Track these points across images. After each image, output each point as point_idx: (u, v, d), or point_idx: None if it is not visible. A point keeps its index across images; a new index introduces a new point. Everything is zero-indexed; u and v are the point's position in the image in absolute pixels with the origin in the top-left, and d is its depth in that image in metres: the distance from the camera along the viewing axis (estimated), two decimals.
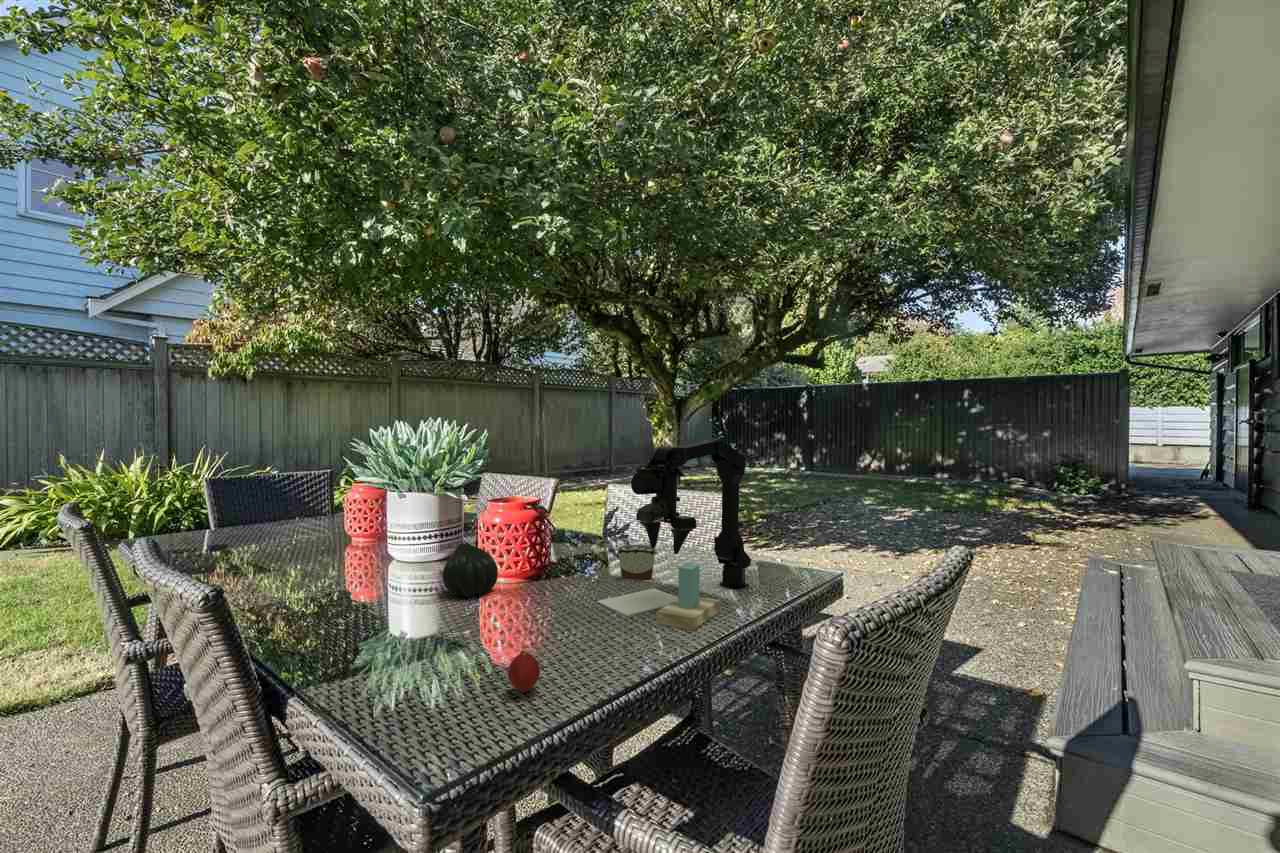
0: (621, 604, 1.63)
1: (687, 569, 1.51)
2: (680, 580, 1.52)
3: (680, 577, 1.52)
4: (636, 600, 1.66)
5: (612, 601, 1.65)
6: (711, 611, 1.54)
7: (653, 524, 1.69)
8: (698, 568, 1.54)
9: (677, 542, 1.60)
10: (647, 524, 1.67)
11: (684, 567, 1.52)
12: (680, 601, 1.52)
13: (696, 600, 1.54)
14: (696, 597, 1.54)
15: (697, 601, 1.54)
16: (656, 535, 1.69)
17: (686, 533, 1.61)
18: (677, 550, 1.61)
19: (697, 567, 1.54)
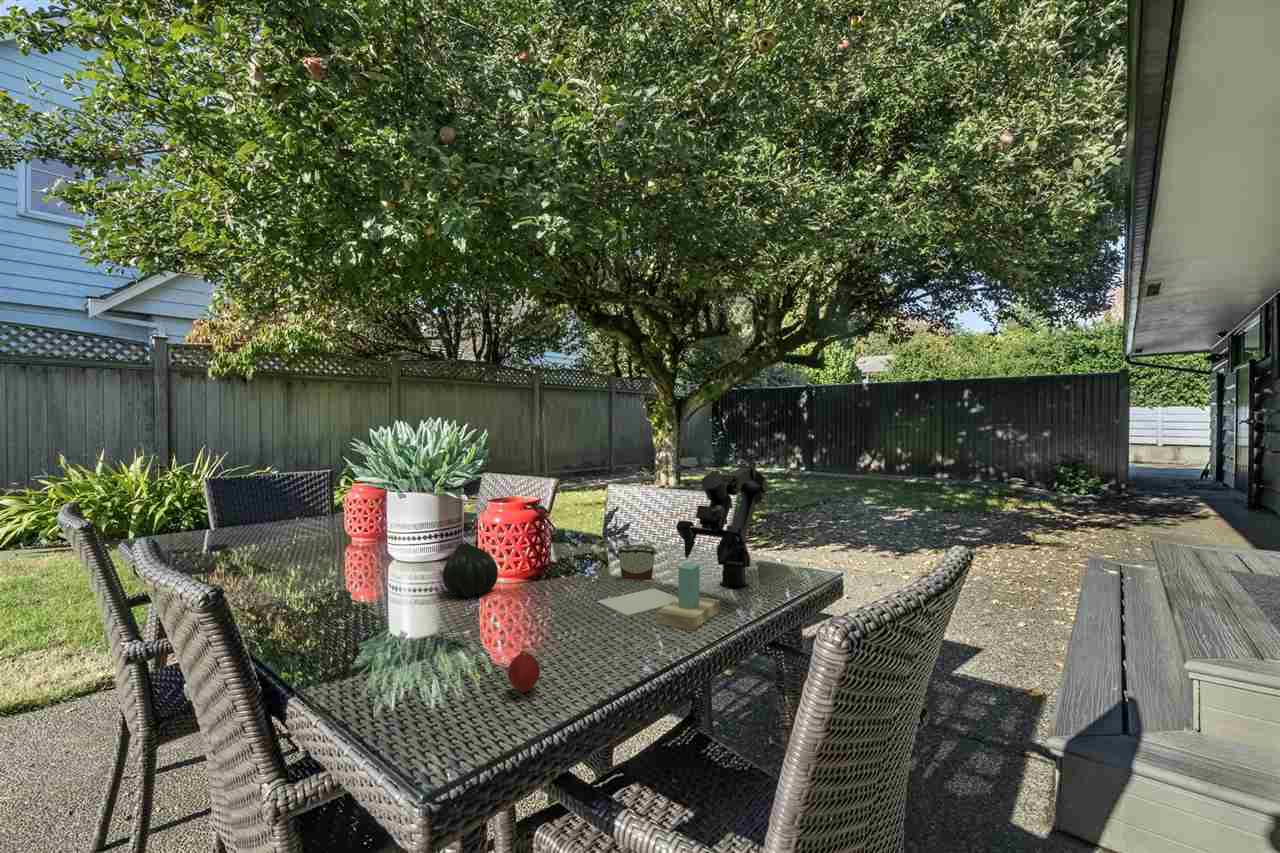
0: (621, 604, 1.63)
1: (687, 569, 1.51)
2: (680, 580, 1.52)
3: (680, 577, 1.52)
4: (636, 600, 1.66)
5: (612, 601, 1.65)
6: (711, 611, 1.54)
7: (691, 537, 1.67)
8: (698, 568, 1.54)
9: (725, 549, 1.59)
10: (689, 532, 1.66)
11: (684, 567, 1.52)
12: (680, 601, 1.52)
13: (696, 600, 1.54)
14: (696, 597, 1.54)
15: (697, 601, 1.54)
16: (690, 548, 1.66)
17: (732, 548, 1.62)
18: (721, 558, 1.59)
19: (697, 567, 1.54)
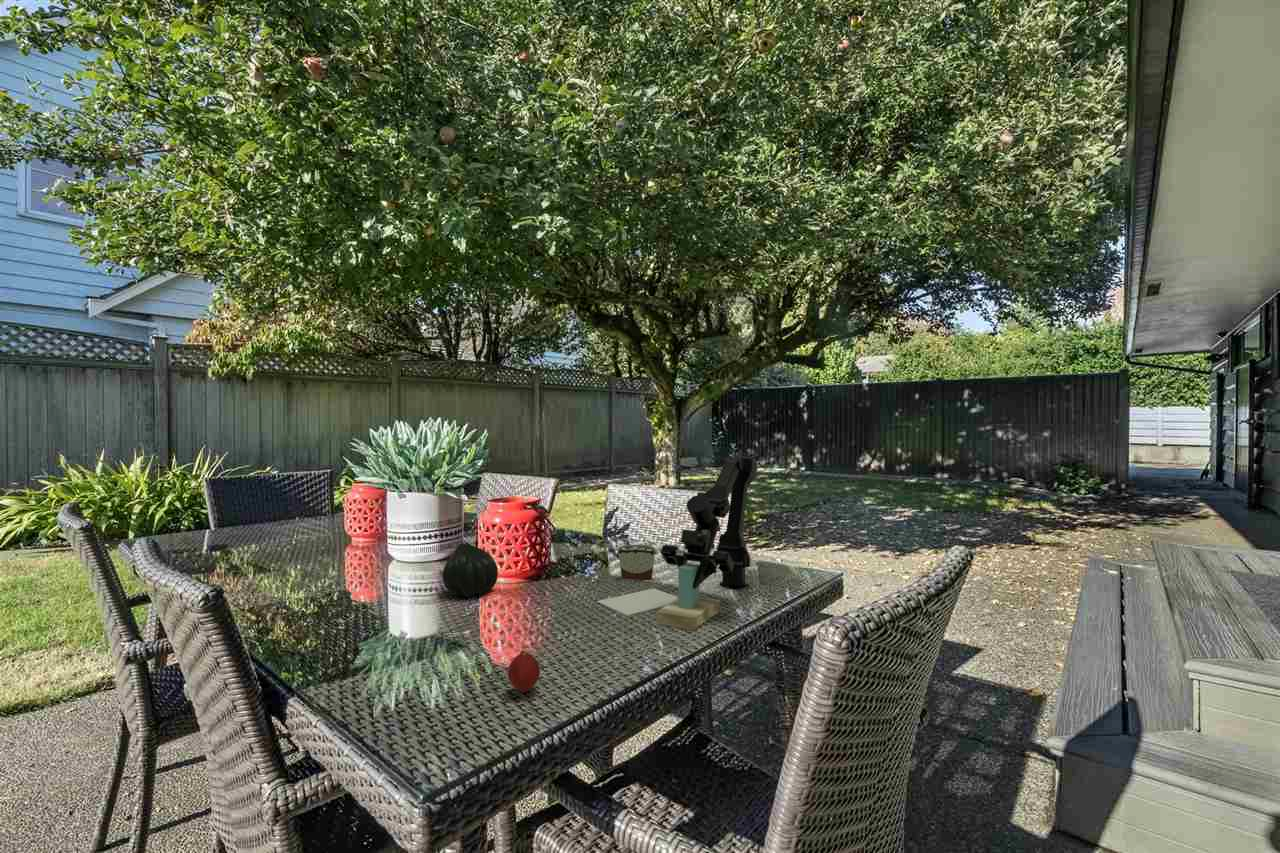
0: (621, 604, 1.63)
1: (687, 569, 1.51)
2: (680, 580, 1.52)
3: (680, 577, 1.52)
4: (636, 600, 1.66)
5: (612, 601, 1.65)
6: (711, 611, 1.54)
7: None
8: (698, 568, 1.54)
9: (701, 575, 1.53)
10: (683, 559, 1.56)
11: (684, 567, 1.52)
12: (680, 601, 1.52)
13: (696, 600, 1.54)
14: (696, 597, 1.54)
15: (697, 601, 1.54)
16: None
17: (708, 573, 1.55)
18: (696, 584, 1.52)
19: (697, 567, 1.54)
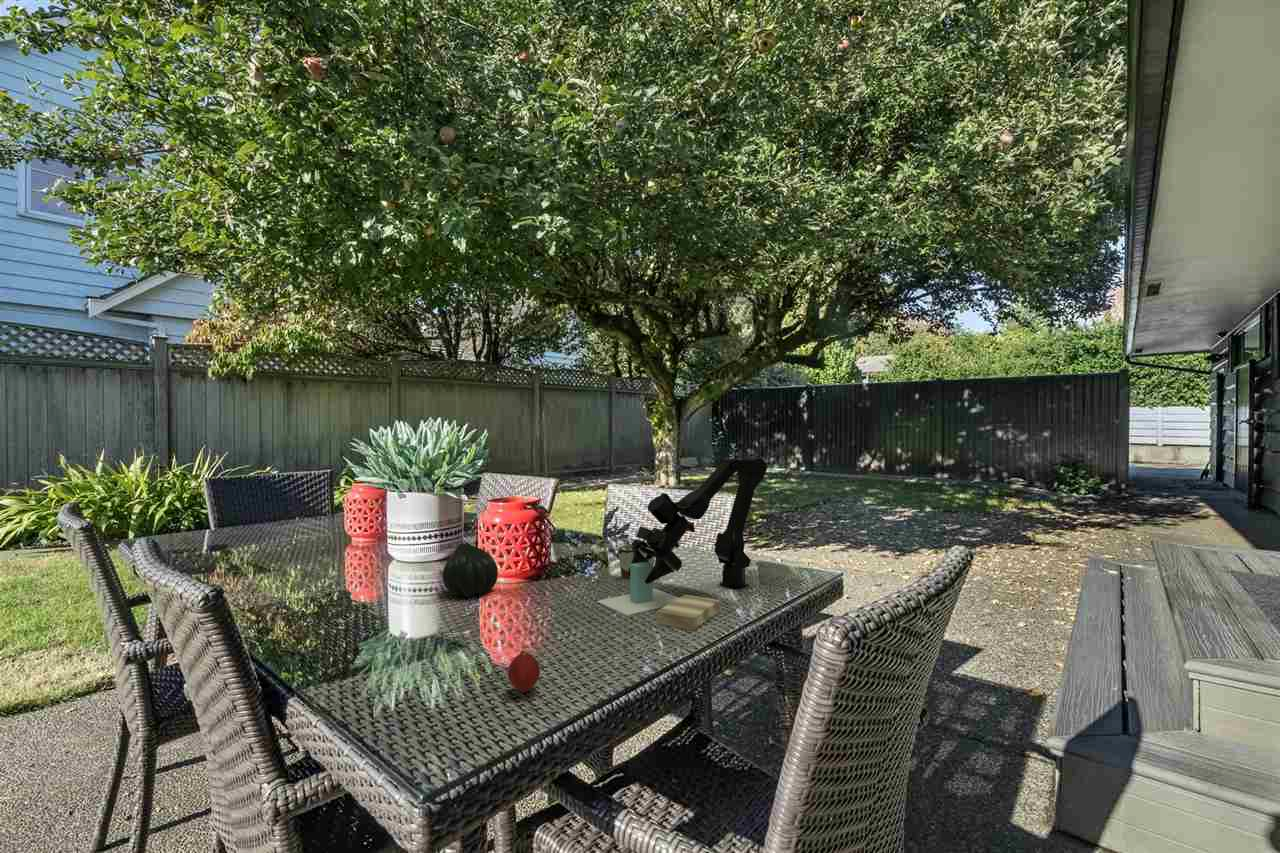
0: (621, 604, 1.63)
1: (635, 566, 1.64)
2: (631, 576, 1.66)
3: (631, 573, 1.66)
4: None
5: (612, 601, 1.65)
6: (711, 611, 1.54)
7: (641, 556, 1.72)
8: (650, 567, 1.65)
9: (654, 572, 1.61)
10: (637, 551, 1.71)
11: (635, 564, 1.66)
12: (631, 595, 1.66)
13: (646, 596, 1.65)
14: (647, 593, 1.65)
15: (648, 598, 1.65)
16: None
17: (666, 572, 1.62)
18: (649, 580, 1.61)
19: (648, 566, 1.65)
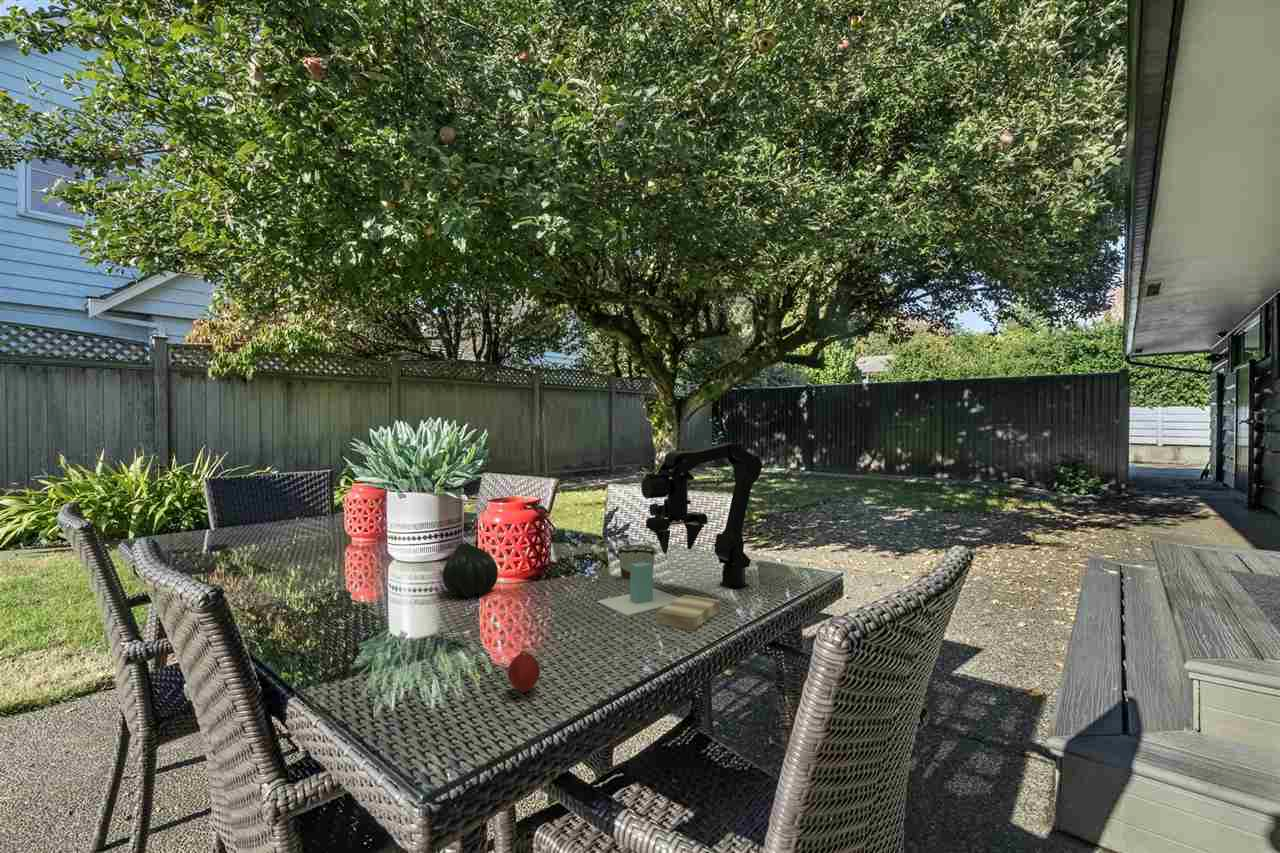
0: (621, 604, 1.63)
1: (635, 566, 1.64)
2: (631, 576, 1.66)
3: (631, 573, 1.66)
4: None
5: (612, 601, 1.65)
6: (711, 611, 1.54)
7: (690, 527, 1.75)
8: (650, 567, 1.65)
9: (660, 541, 1.69)
10: (686, 525, 1.77)
11: (635, 564, 1.66)
12: (631, 595, 1.66)
13: (646, 596, 1.65)
14: (647, 593, 1.65)
15: (648, 598, 1.65)
16: (691, 538, 1.74)
17: (663, 535, 1.67)
18: (663, 550, 1.69)
19: (648, 566, 1.65)
